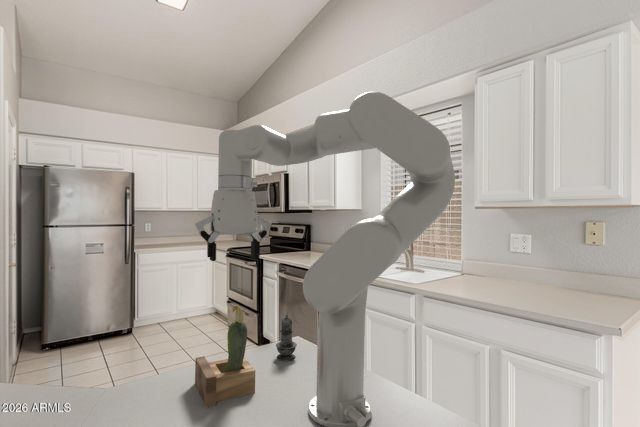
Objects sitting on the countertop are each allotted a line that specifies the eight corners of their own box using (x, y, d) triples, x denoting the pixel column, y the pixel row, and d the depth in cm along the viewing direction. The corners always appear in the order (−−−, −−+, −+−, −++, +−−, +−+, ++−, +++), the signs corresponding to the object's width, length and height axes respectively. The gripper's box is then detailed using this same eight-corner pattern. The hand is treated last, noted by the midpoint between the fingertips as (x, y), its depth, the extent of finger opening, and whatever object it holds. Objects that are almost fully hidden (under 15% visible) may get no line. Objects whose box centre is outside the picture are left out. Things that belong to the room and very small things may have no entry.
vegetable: (242, 384, 83) (254, 304, 80) (235, 396, 79) (248, 312, 76) (224, 380, 83) (235, 300, 80) (216, 391, 79) (228, 307, 76)
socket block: (254, 392, 79) (255, 370, 79) (214, 402, 75) (214, 378, 75) (242, 376, 87) (243, 356, 87) (205, 384, 83) (205, 362, 83)
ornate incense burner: (282, 352, 104) (283, 310, 104) (300, 355, 101) (301, 313, 101) (271, 359, 99) (272, 315, 99) (289, 363, 96) (290, 318, 96)
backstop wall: (215, 405, 74) (216, 376, 74) (205, 407, 73) (206, 378, 73) (203, 381, 84) (204, 356, 84) (194, 383, 83) (195, 357, 83)
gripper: (264, 188, 89) (264, 256, 89) (192, 184, 81) (191, 259, 80) (276, 185, 83) (275, 259, 82) (199, 181, 74) (198, 263, 74)
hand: (234, 259), depth 81 cm, fingers open, 9 cm apart
